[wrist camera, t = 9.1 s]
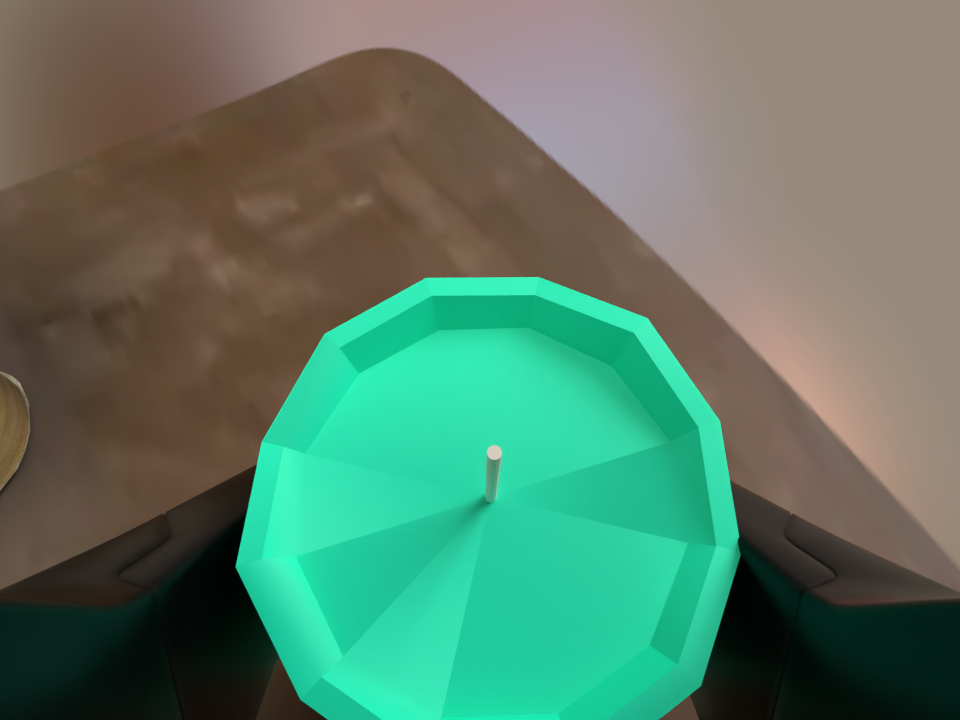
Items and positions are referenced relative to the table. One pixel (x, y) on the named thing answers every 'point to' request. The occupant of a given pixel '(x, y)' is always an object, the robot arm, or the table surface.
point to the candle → (492, 512)
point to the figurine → (12, 426)
